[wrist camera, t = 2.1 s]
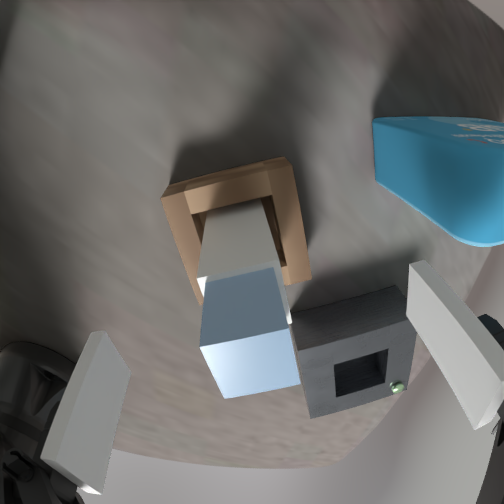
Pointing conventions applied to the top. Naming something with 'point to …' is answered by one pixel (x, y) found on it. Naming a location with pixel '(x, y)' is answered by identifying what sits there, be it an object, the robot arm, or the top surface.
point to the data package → (446, 172)
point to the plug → (244, 303)
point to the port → (354, 350)
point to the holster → (234, 191)
